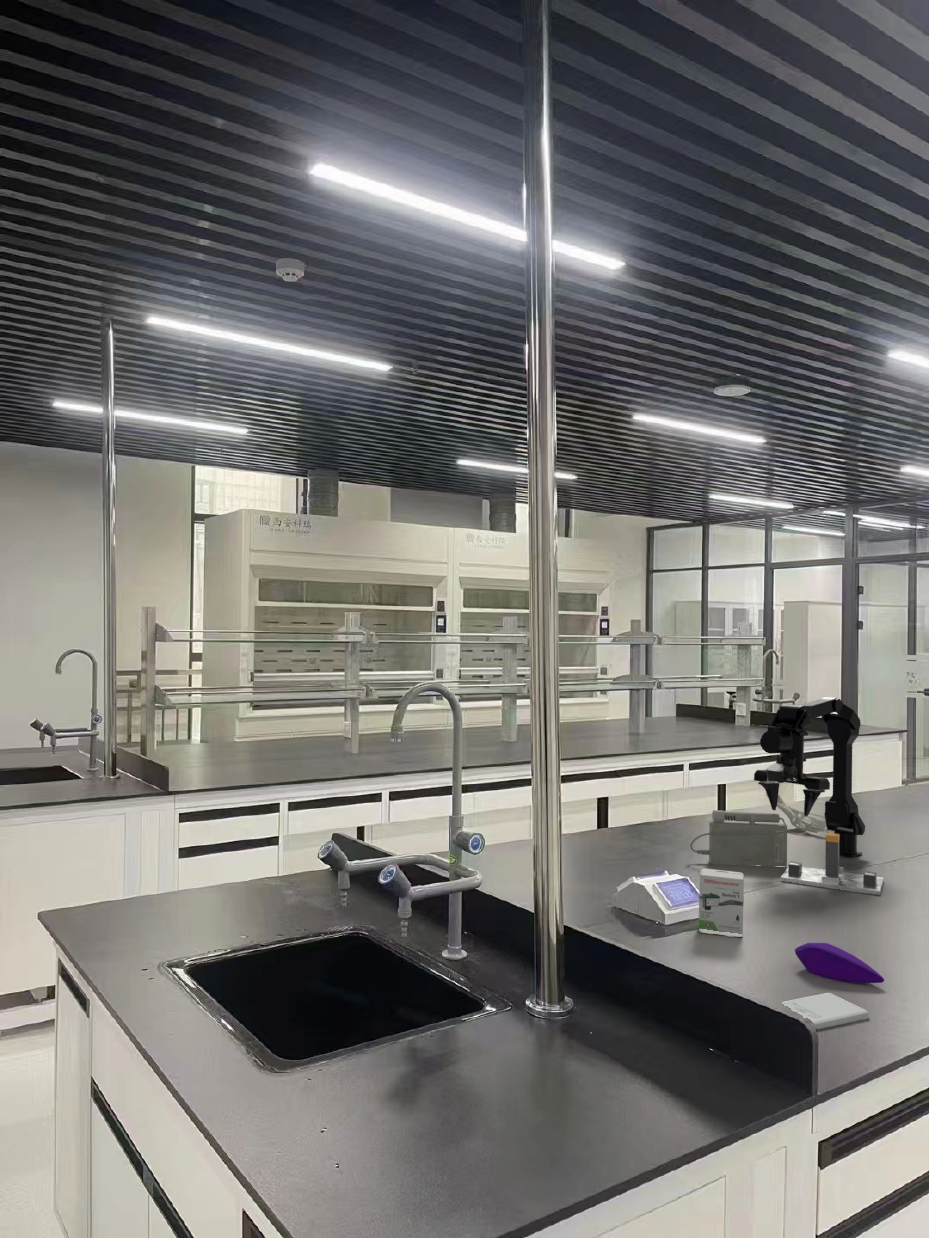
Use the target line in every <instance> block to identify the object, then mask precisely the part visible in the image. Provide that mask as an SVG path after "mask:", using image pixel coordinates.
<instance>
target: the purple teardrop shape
mask: <svg viewBox="0 0 929 1238" xmlns="http://www.w3.org/2000/svg"><path fill="white" fill-rule="evenodd" d="M794 953H795V955H796V957H797V959H798V960H799V961H800V963H801V964H802V965H803V966H804V968H805V969H806V971H807V972H809V974H811V975H812V974H813V975H815V976H817V975H818V976H817V977H820V976H821V977H820V978H824V979H829V980H833V981H838V982H843V983H853V984H881V983H884V982H885V978H884V976H882V975H881V974H880V973H879V972H878V971H876V970H875V969H874V968H873V967H871V966H870V965H869V964H867V962H864V961H863V960H861V959H859V958H858V957H857V956H855V955H853V954H852V953H849V952H848V951H846V950H844V949H842V948H841V947H837V946H836V945H833V944H830V943H827V942H807V943H803V944H802V945H800V946H798V947H795V949H794Z"/></svg>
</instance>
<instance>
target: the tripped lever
mask: <svg viewBox="0 0 929 1238" xmlns="http://www.w3.org/2000/svg"><path fill="white" fill-rule="evenodd" d="M824 864H825V865H824V866H825V868H824V870H825V876H831V877H839V867H840V855H839V834H834V832H829V833H827V832H826V834H825V863H824Z"/></svg>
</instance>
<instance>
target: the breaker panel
mask: <svg viewBox="0 0 929 1238" xmlns="http://www.w3.org/2000/svg"><path fill="white" fill-rule="evenodd" d="M877 874H878V873H877V872H875V871H868V870H865V871H863V874H861V873H860V874H858V873H851V872H844V867H843V866H839V877H831V876H825V869H821V868H815V867H807V866H803V863H802V862H798V861H790V862H789V863H787V867H786V868H785V871H784V872H783V873H782V874H781V876H780V882H782V881H785V882H784V883H789V882H792V883H791V884H796V883H801V884H800V885H803V884H805V885H804V886H810V885H811V887H817V888H825V889H832V890H838V889H840V890H839V891H845V890H846V891H847V892H852V893H860V894H866V895H874V896H879V897H880V896H881V892H882V889H883V885H884V879H885V878H884V877H881V876H878V875H877Z"/></svg>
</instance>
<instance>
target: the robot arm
mask: <svg viewBox="0 0 929 1238" xmlns="http://www.w3.org/2000/svg"><path fill="white" fill-rule="evenodd" d="M820 717H821V720H822V721H823V722H824V724H825V726H826V734H827V735H828V736H829V738H830V740H831V742H832V745H833V746H832V749H833V750H832V751H833V753H832V795H831V797H830V798H829V800H826V801H825V803H824V817H825V818H824V820H825V822H826V829H827V830H830V831H833V833H834V834H839V856H842V857H845V858H846V857H847V858H854V857H857V856H863V852H860V851H858V836H863V835H864V834H865V831H866V825H865V823H864V821H863V819H862V818H861V816H860V815H859V806H858V804H857V802H856V801H855V798H854V797H853V744H854V743H855V741H856V739H857V738H858V737H859V734H860V729H861V719H860V717H859V716H858V714H857V713H856V712H855V710H854V709H853V708H851V707H849V706H848V705H846V704H845V703H843V701H842V699H840V698H838V697H831V696H830V697H829V696H823V697H821V698H819V699H816V700H812V701H809V702H805V703H802V704H787V703H786V704H785V703H783V704H781V705H780V706H779V707H778V709H777V710H776V712H775V715H774V717H773V719H772V721H771V723H770V726H767V731H765V732H764V733H763V734H762V735H761V737H760V739H759V742H760V743H759V744H760V747H761V749H762V750H763V751H764V752H765V753H767V754H780V755H777V757H776V761H775V763H772V764H771V765H769V766H768V767H766V768H765V769H756V771H755V772H754V773H753V781H755V782H756V781H757V783H758V785H760V786H762V787H763V789H764V790H765V791H766V792H767V795H768V797H767V798H768V800H769V803H770V807H771V810H772V811H776V810H777V808H778V807H777V801H778V795H779V791H780V790H779V789H780V784H783V783H787V784H793V785H800V786H804V789H802V793H803V794H804V803H803V804H804V805H803V807H804V808H803V812H804V816H809V815H810V814H809V813H810V812H811V811H812V809H813V806H814V805H815V803H816V801H817V800H818V798H819V797H820V795H821V793H825V792H826V791H827V790H830V789H831V784H830V783H831V782H830V781H829V779H828V777H827V778H826V777H821V776H820V777H819V776H806V775H807V773H805V772H804V762H807V757H805V756H804V750H805V749H804V748H805V747H804V745H805V744H804V743H805V737H807V736H809V733H808V731H807V730H805V728H806V727H807V726H809V725H810V724H811V723H812V720H814V719H817V718H820ZM766 792H765V793H766ZM767 795H766V796H767Z"/></svg>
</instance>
